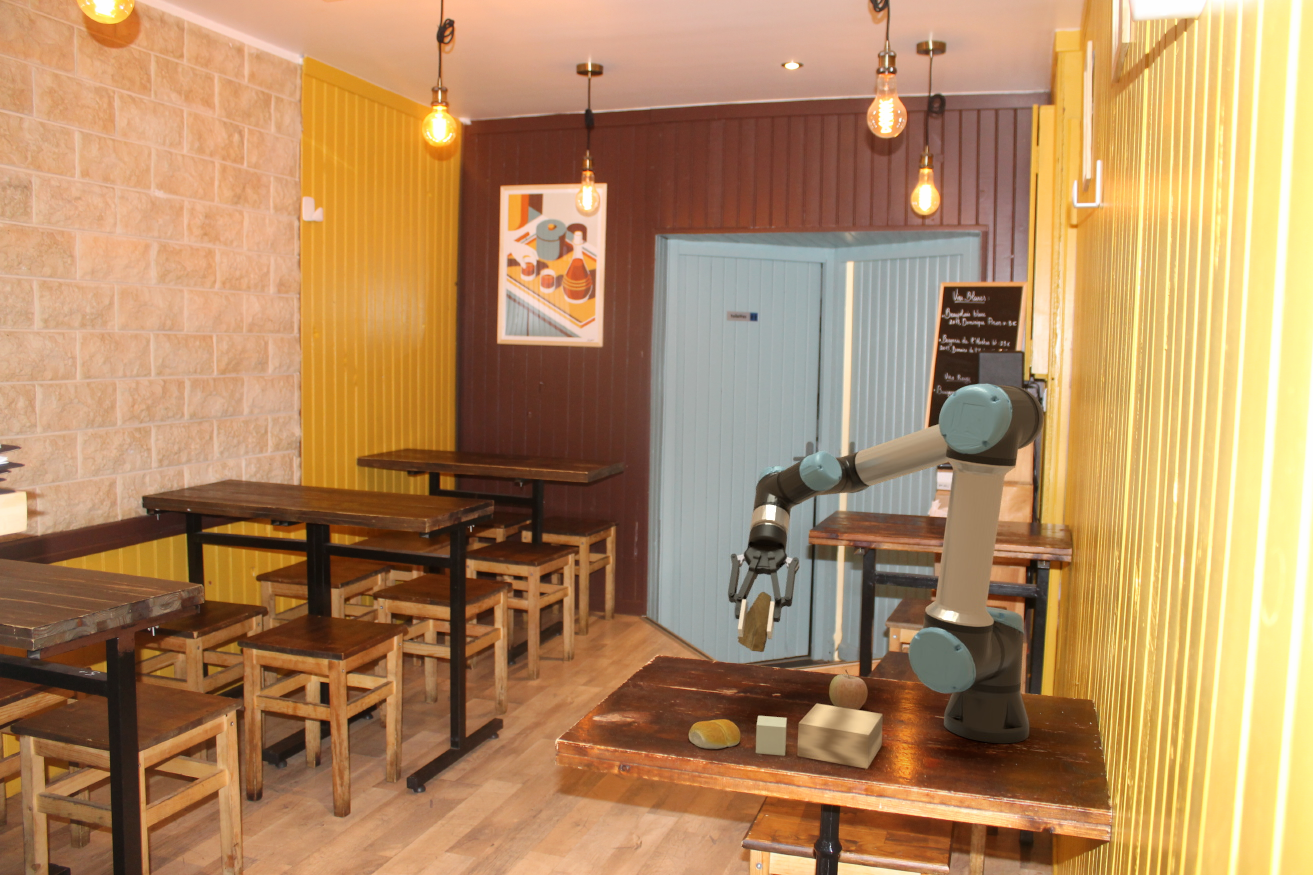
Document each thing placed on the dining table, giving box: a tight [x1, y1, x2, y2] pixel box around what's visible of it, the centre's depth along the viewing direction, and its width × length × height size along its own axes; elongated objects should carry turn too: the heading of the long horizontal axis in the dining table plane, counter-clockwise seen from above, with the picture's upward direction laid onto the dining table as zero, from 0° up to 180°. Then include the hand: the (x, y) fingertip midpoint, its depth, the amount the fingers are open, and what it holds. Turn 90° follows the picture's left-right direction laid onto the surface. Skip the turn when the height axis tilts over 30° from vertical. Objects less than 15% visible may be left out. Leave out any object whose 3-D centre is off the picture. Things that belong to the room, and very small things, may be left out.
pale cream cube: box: [755, 715, 788, 756], centre depth 169 cm, size 5×5×5 cm
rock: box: [737, 591, 772, 653], centre depth 182 cm, size 11×9×10 cm
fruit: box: [828, 668, 869, 710], centre depth 191 cm, size 8×7×8 cm
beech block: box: [797, 702, 884, 769], centre depth 169 cm, size 12×12×6 cm
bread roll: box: [688, 718, 741, 750], centre depth 172 cm, size 8×9×4 cm
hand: (754, 633), depth 178 cm, fingers closed on rock, 5 cm apart
